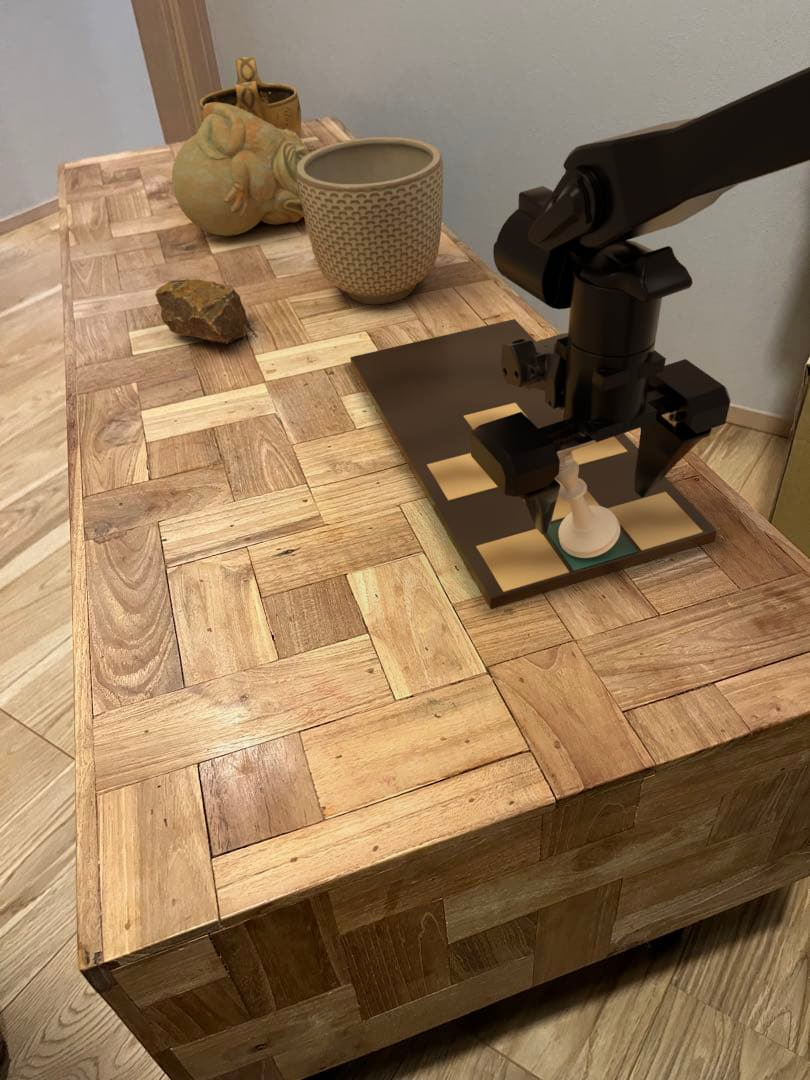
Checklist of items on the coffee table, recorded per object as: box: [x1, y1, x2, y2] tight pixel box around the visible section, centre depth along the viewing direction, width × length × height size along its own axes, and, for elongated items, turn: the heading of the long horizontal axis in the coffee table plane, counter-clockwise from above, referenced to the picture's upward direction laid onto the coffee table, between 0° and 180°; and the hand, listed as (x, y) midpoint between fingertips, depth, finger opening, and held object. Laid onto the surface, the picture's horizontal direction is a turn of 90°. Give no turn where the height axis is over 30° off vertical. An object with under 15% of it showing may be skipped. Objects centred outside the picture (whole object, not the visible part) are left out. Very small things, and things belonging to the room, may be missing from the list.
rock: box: [155, 279, 247, 345], centre depth 98 cm, size 14×6×10 cm
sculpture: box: [171, 102, 311, 237], centre depth 120 cm, size 18×20×20 cm
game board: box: [349, 318, 718, 609], centre depth 80 cm, size 40×20×1 cm, turn 19°
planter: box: [296, 136, 444, 305], centre depth 101 cm, size 17×17×16 cm
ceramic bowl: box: [199, 56, 302, 138], centre depth 142 cm, size 22×17×15 cm
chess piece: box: [555, 451, 620, 558], centre depth 63 cm, size 5×5×10 cm
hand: (591, 512), depth 65 cm, fingers open, 9 cm apart
